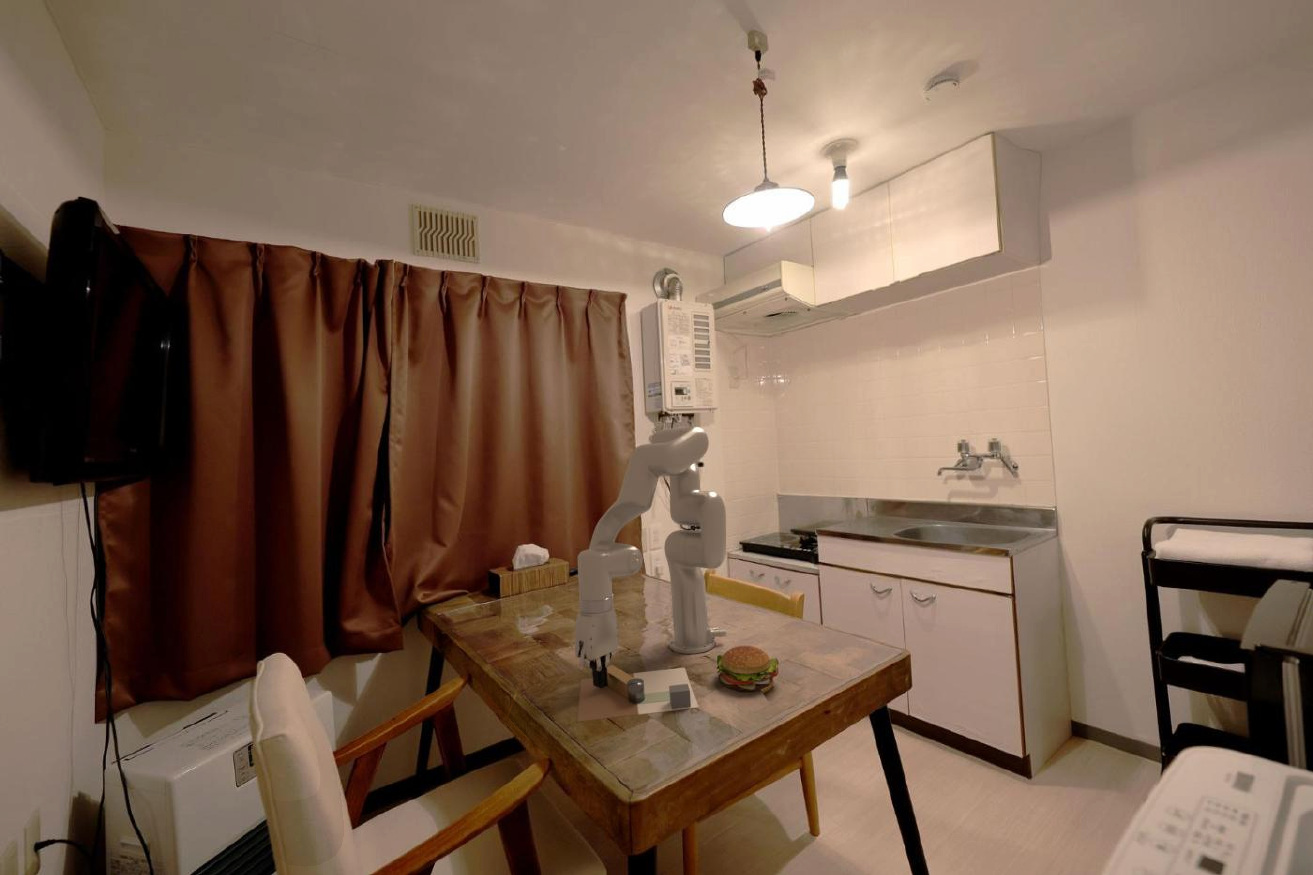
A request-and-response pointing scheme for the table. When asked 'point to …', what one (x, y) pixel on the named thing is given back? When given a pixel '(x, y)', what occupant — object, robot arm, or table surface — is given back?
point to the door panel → (660, 695)
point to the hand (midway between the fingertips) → (600, 685)
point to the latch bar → (626, 684)
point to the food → (747, 669)
